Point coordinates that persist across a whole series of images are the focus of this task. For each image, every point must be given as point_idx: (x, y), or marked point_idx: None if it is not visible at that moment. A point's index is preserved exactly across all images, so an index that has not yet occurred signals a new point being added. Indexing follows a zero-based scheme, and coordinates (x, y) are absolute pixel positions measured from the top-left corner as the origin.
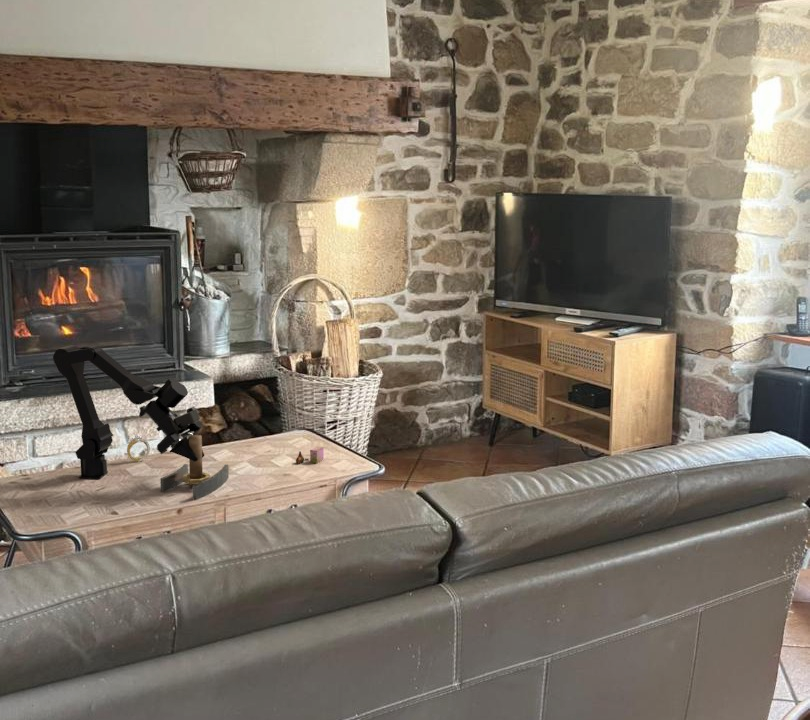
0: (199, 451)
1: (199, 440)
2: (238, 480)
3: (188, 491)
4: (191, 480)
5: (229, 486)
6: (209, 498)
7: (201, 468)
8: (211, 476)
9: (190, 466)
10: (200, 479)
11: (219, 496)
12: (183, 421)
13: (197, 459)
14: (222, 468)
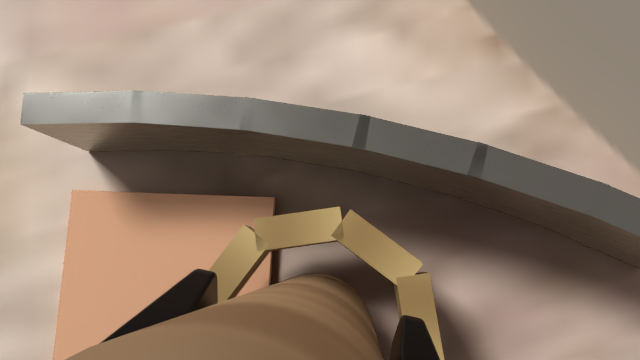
0: (351, 317)
1: (338, 356)
2: (151, 41)
3: (447, 356)
4: (441, 350)
5: (293, 71)
6: (589, 148)
7: (325, 280)
8: (89, 256)
9: None
10: (410, 267)
11: (531, 87)
12: None
13: (423, 321)
14: (143, 118)
